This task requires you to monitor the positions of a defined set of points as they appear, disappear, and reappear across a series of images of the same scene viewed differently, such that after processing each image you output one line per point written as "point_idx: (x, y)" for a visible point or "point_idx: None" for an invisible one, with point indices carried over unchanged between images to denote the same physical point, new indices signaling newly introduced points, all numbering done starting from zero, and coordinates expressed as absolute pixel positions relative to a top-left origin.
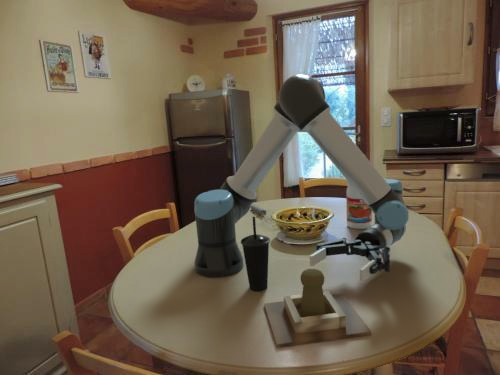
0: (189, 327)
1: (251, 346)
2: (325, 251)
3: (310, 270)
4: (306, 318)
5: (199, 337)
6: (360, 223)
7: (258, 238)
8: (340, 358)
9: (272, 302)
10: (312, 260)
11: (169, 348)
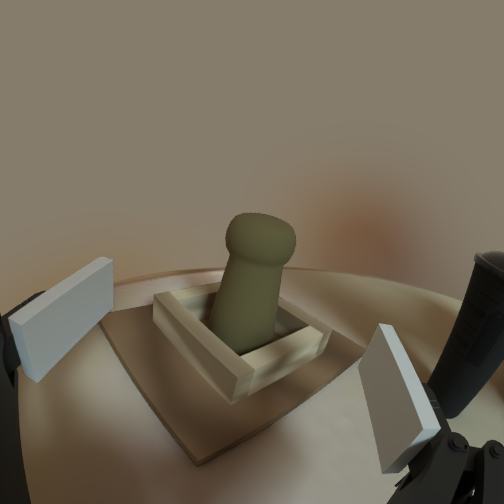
0: (385, 297)
1: (289, 286)
2: (408, 440)
3: (272, 218)
4: None
5: (357, 288)
6: None
7: (501, 253)
8: (154, 282)
9: (356, 357)
10: (370, 343)
11: (360, 276)
